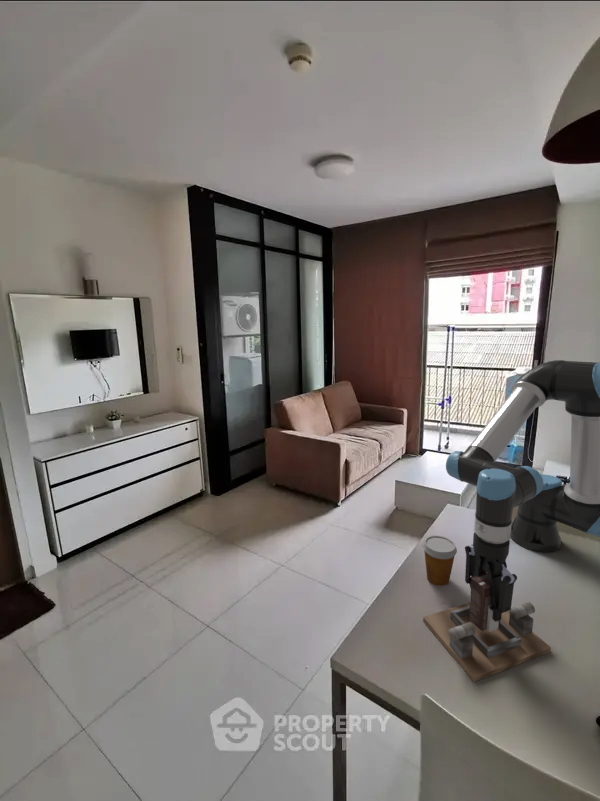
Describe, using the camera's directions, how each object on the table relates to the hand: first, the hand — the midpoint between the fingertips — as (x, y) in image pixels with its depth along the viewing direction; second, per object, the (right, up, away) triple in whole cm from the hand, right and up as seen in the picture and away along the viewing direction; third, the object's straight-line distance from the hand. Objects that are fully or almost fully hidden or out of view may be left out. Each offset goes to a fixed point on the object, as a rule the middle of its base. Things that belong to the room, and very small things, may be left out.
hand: (484, 621), depth 92 cm
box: (0, 0, 0) cm, 1 cm away
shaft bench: (0, -4, +1) cm, 4 cm away
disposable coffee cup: (-4, 0, +21) cm, 22 cm away
